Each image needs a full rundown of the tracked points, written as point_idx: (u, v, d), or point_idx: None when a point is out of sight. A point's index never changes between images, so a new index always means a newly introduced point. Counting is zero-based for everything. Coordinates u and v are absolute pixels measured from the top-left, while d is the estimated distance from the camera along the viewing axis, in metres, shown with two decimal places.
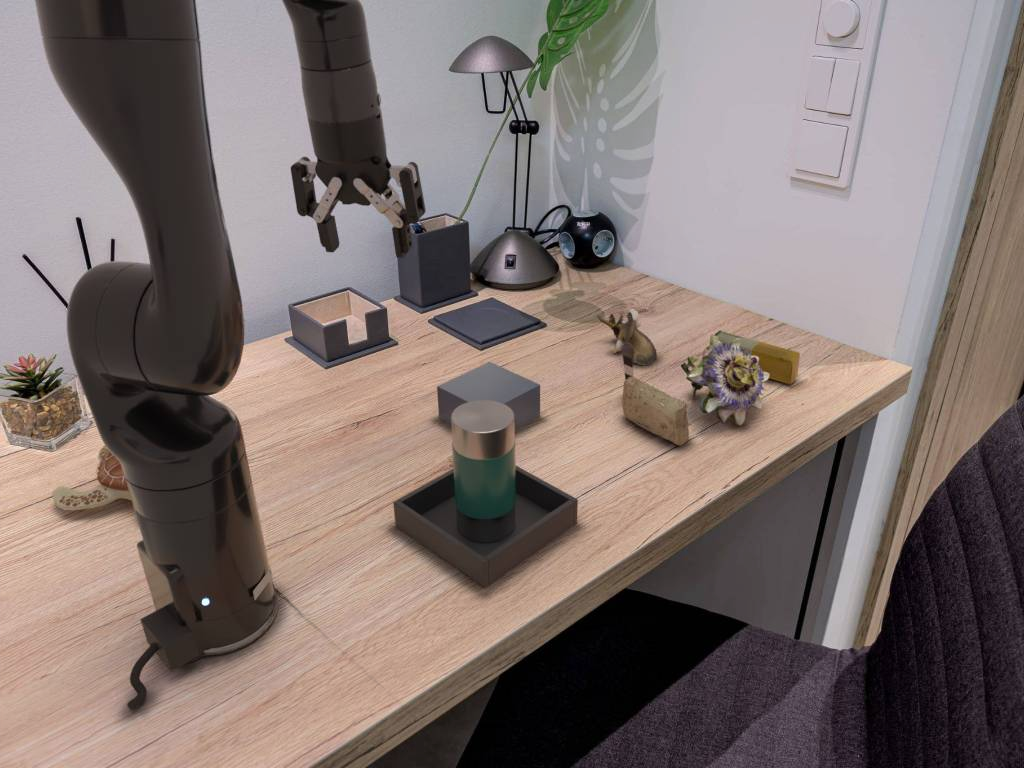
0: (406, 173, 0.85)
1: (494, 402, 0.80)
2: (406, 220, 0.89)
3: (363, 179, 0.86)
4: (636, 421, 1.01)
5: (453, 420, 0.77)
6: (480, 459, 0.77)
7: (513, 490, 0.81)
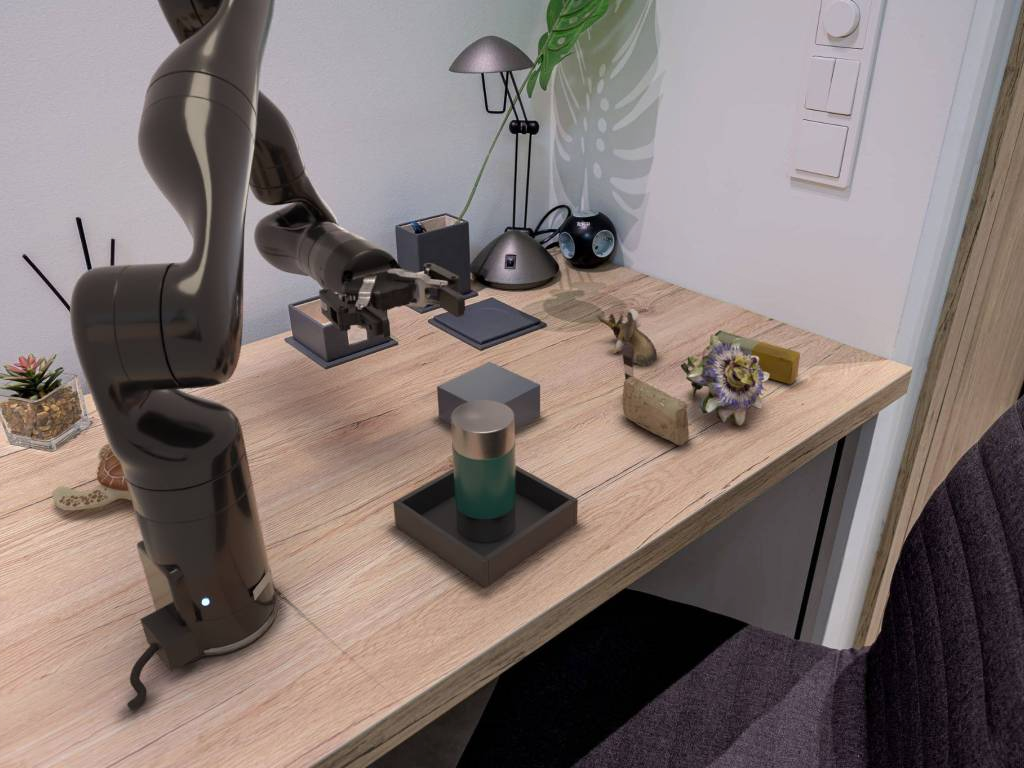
0: None
1: (494, 402, 0.80)
2: (448, 285, 0.88)
3: None
4: (636, 421, 1.01)
5: (453, 420, 0.77)
6: (480, 459, 0.77)
7: (513, 490, 0.81)
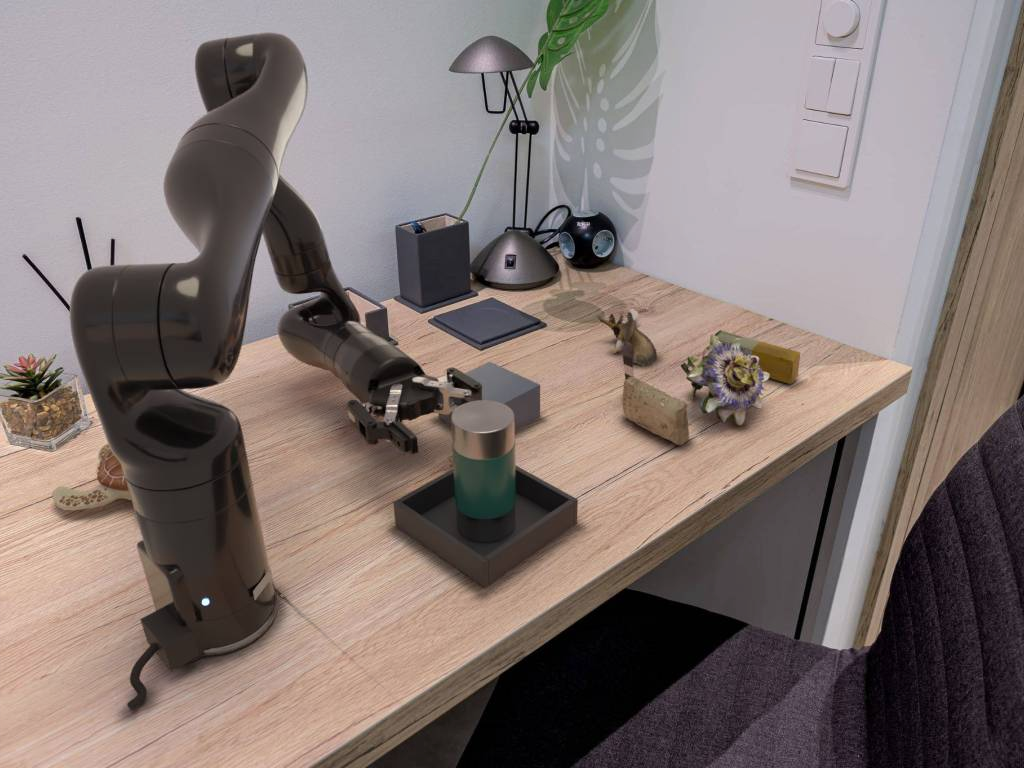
0: (452, 368, 0.95)
1: (494, 402, 0.80)
2: (471, 393, 0.91)
3: None
4: (636, 421, 1.01)
5: (453, 420, 0.77)
6: (480, 459, 0.77)
7: (513, 490, 0.81)
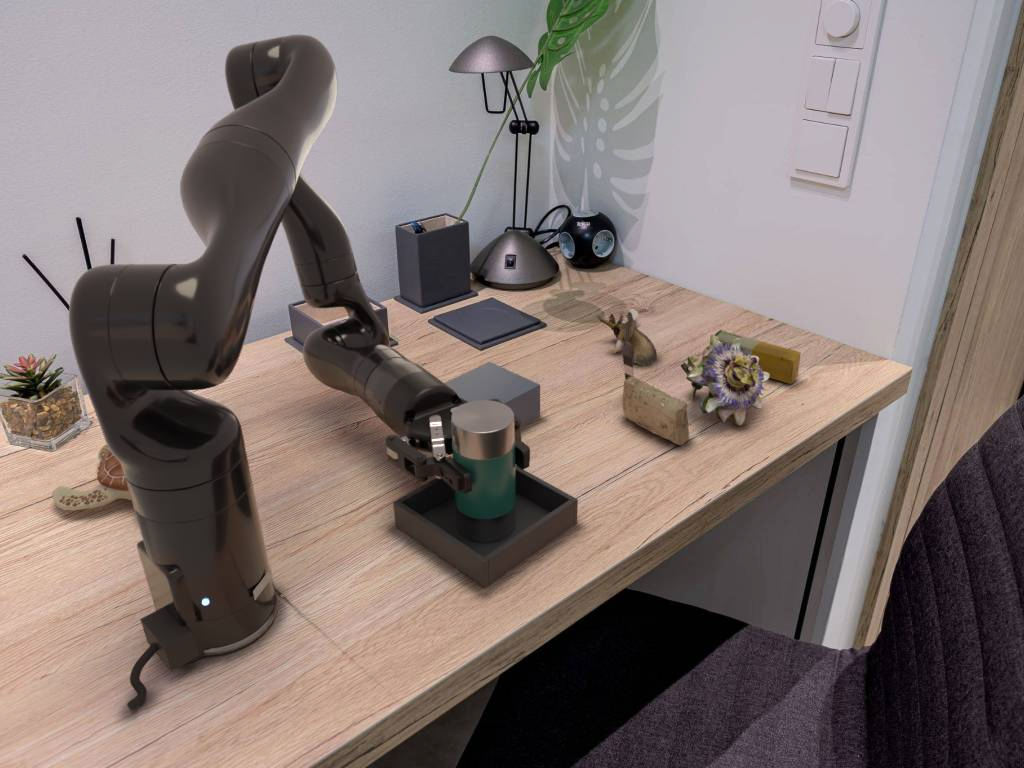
0: None
1: (494, 402, 0.80)
2: None
3: None
4: (636, 421, 1.01)
5: (453, 420, 0.77)
6: (480, 459, 0.77)
7: (513, 490, 0.81)
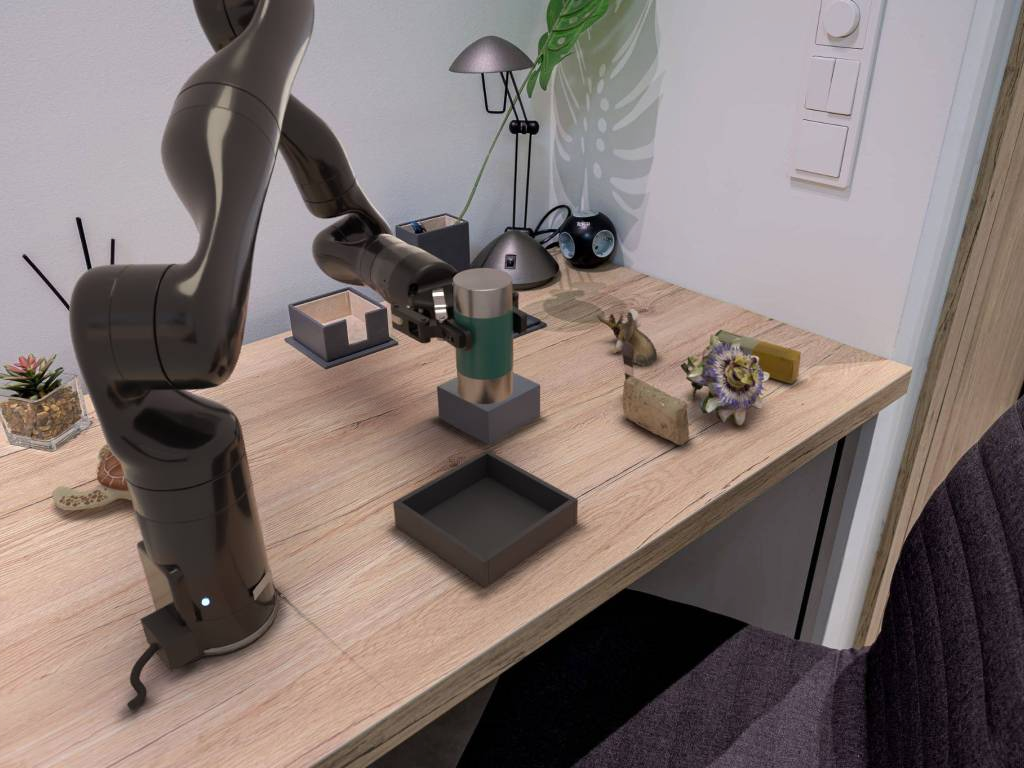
0: None
1: (493, 269, 0.85)
2: None
3: None
4: (636, 421, 1.01)
5: (454, 281, 0.82)
6: (480, 318, 0.82)
7: (511, 353, 0.86)
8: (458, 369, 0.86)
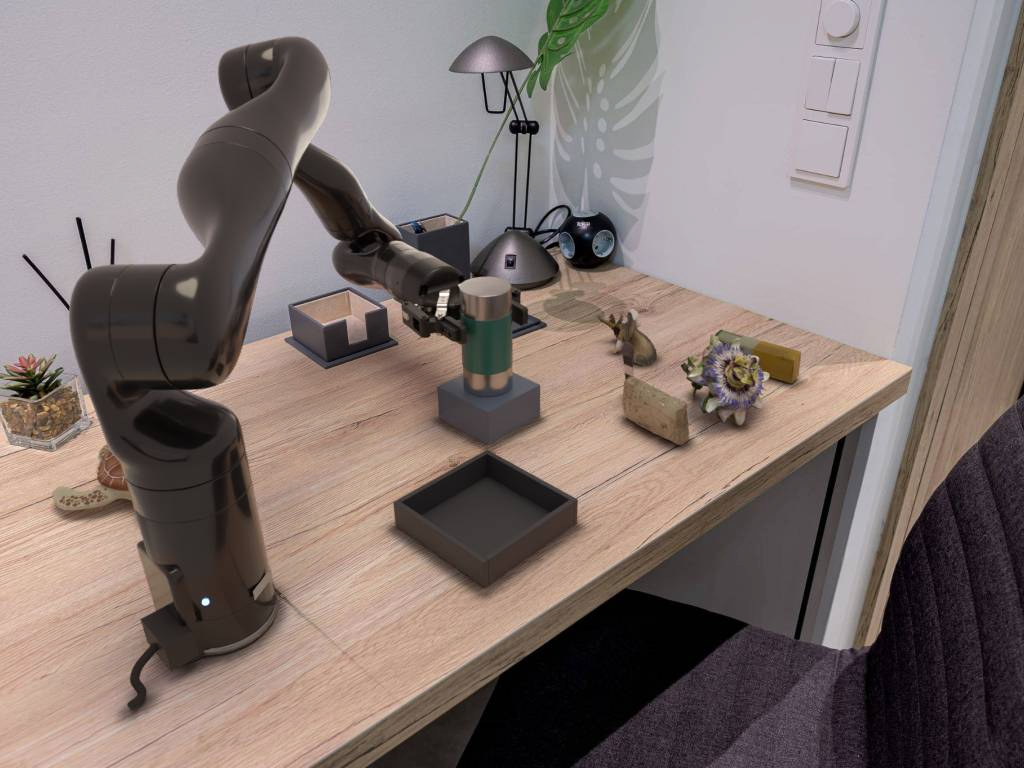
0: None
1: (494, 278, 0.97)
2: None
3: None
4: (636, 421, 1.01)
5: (461, 288, 0.94)
6: (483, 320, 0.93)
7: (510, 352, 0.97)
8: (464, 366, 0.98)
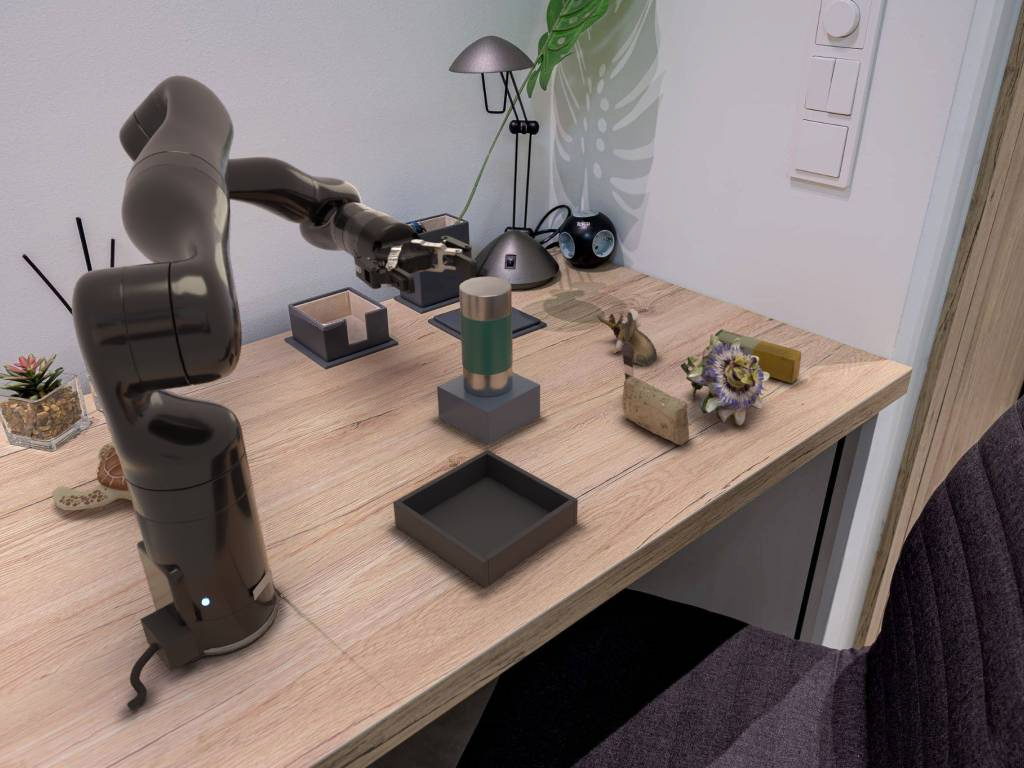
0: None
1: (494, 278, 0.97)
2: (462, 252, 1.04)
3: None
4: (636, 421, 1.01)
5: (461, 288, 0.94)
6: (483, 320, 0.93)
7: (510, 352, 0.97)
8: (464, 366, 0.98)
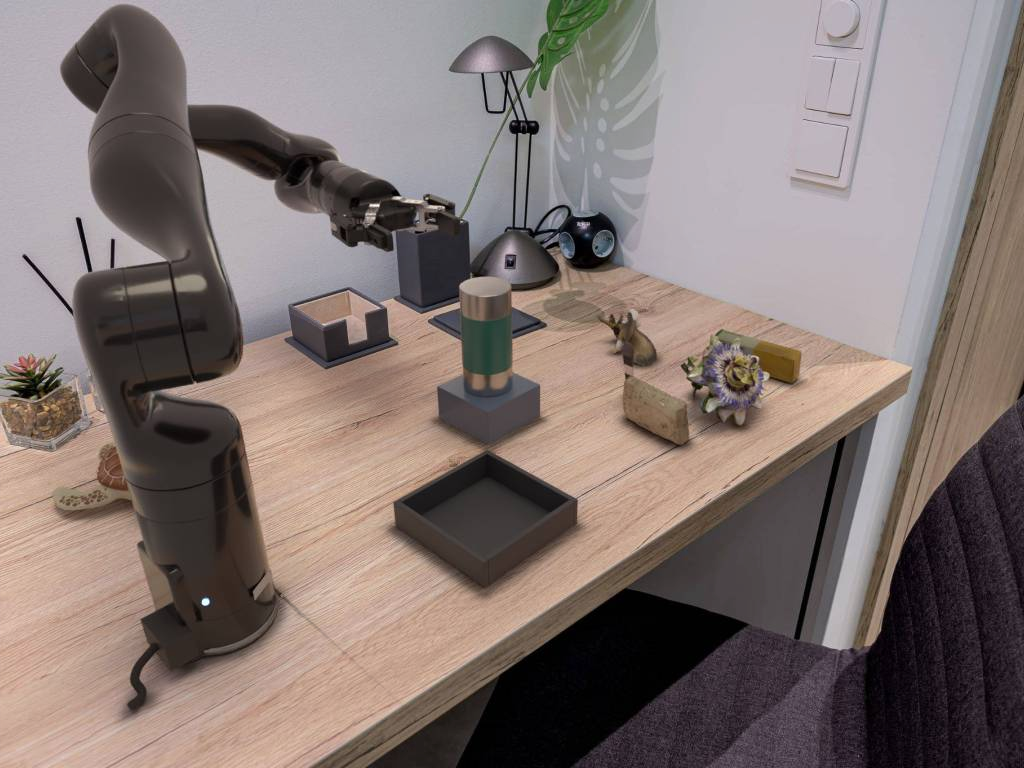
0: (428, 194, 1.02)
1: (494, 278, 0.97)
2: (445, 210, 0.98)
3: None
4: (636, 421, 1.01)
5: (461, 288, 0.94)
6: (483, 320, 0.93)
7: (510, 352, 0.97)
8: (464, 366, 0.98)
